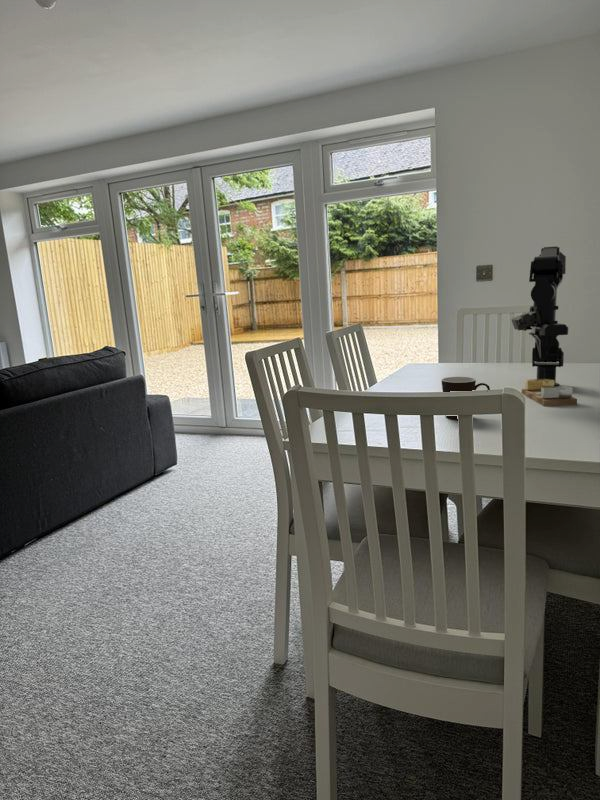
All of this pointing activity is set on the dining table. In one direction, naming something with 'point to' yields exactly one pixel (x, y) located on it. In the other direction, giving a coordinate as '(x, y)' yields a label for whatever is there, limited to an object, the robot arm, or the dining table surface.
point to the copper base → (537, 397)
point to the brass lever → (538, 383)
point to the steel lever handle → (556, 392)
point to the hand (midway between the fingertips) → (542, 357)
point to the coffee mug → (459, 386)
